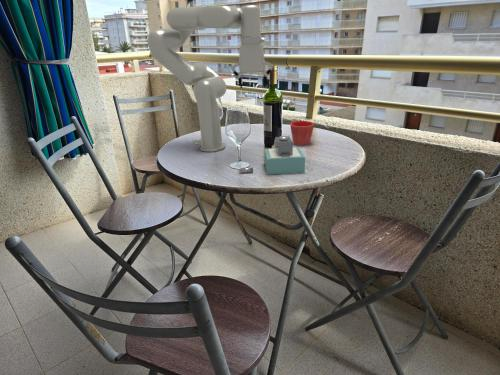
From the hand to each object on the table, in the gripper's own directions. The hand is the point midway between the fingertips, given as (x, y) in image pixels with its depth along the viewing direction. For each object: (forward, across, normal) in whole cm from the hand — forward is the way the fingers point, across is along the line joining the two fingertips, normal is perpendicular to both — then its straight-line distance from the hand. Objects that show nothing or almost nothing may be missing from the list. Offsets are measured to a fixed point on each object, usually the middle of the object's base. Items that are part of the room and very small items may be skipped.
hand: (252, 87), depth 131 cm
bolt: (+27, +5, +25) cm, 37 cm away
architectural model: (+29, -10, +4) cm, 31 cm away
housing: (+22, -10, +21) cm, 32 cm away
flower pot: (+28, -23, -10) cm, 38 cm away
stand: (+28, -10, +21) cm, 37 cm away
